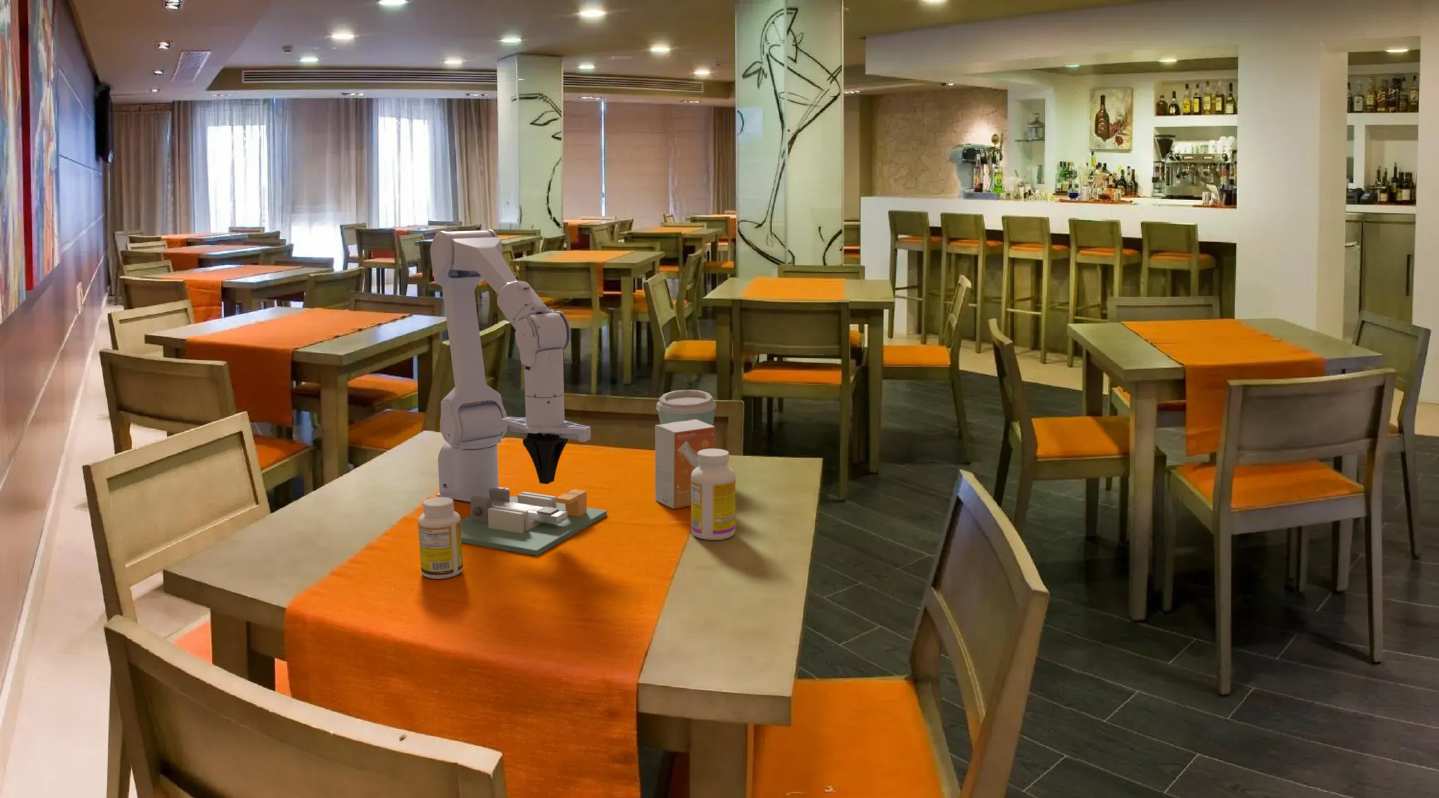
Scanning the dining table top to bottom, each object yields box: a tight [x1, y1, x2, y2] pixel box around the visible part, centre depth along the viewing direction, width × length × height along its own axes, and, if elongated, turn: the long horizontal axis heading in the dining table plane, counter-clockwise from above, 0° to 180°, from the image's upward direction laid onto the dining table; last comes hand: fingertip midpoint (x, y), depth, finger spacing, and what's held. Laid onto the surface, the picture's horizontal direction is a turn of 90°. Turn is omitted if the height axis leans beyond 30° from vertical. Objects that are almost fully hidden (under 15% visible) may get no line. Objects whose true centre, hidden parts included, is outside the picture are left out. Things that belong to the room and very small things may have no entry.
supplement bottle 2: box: [690, 448, 736, 541], centre depth 162 cm, size 7×7×13 cm
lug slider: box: [556, 488, 588, 517], centre depth 168 cm, size 2×5×4 cm, turn 156°
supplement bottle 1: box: [417, 496, 464, 580], centre depth 146 cm, size 6×6×10 cm
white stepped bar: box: [491, 499, 567, 524], centre depth 166 cm, size 13×3×2 cm, turn 66°
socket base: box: [460, 488, 608, 557], centre depth 166 cm, size 18×20×4 cm
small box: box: [654, 419, 716, 510], centre depth 178 cm, size 8×6×13 cm
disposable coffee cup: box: [655, 389, 717, 426], centre depth 192 cm, size 11×11×15 cm
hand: (546, 482), depth 163 cm, fingers closed
